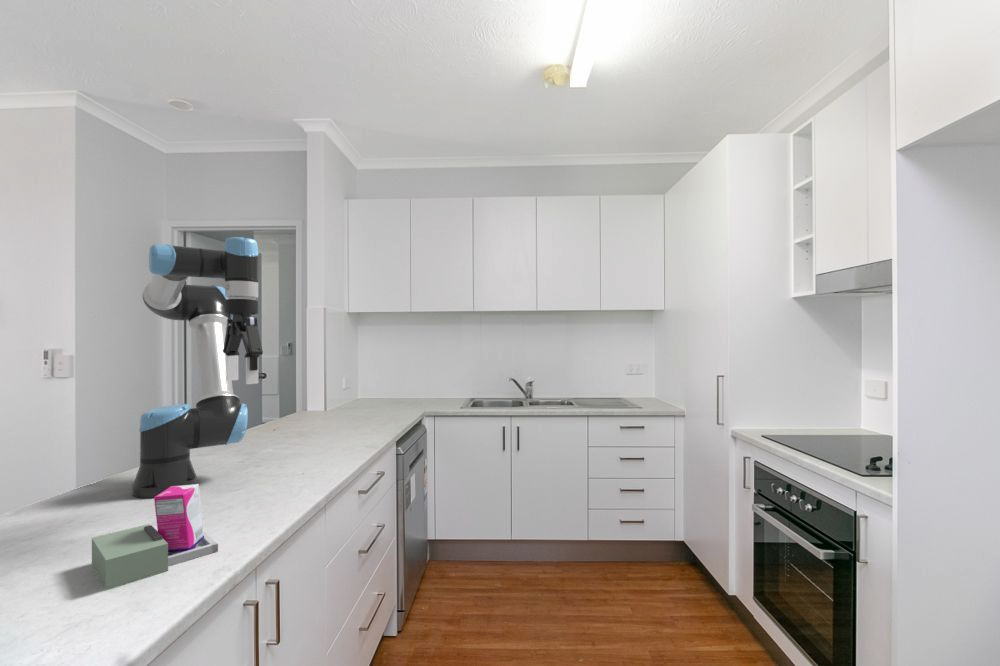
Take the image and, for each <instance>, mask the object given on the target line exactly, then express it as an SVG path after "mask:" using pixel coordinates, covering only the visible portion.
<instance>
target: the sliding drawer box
mask: <svg viewBox="0 0 1000 666" xmlns="http://www.w3.org/2000/svg"><path fill="white" fill-rule="evenodd" d="M216 552H219V544H218V542H216V540H214V539H213V538H211V537H210V535H208V534H207V533H205V532H204V538H203V539H202V540H201V541H200V542H199V543H198V544H197V545H196V546H194V547H193V548H192V549H191V550H188V551H181V552H169V553H168V543H167V542H166V541H165V540H164V539H163V538H162V535H161V534H160V533H159V532H158V529H156V528H155V527H154V526H153V525H151V524H150V523H147V524H144V525H140V526H135V527H131V528H125V529H123V530H119V531H115V532H111V533H106V534H102V535H98V536H95V537H91V565H92V567H93V569H94V571H95V573H96V574H97V576H98V578H99V580H100V581H101V583H102V585H103V587H104V589H105V590H110V589H113V588H116V587H119V586H122V585H125V584H130V583H133V582H135V581H136V582H137V581H139V580H142V579H145V578H149V577H151V576H155V575H158V574H163V573H164V572H165V573H166V572H168V571H169V567H170V566H174V565H177V564H180V563H183V562H188V561H190V560H194V559H197V558H201V557H203V556H206V555H210V554H214V553H216Z"/></svg>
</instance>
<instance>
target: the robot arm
mask: <svg viewBox="0 0 1000 666" xmlns="http://www.w3.org/2000/svg"><path fill="white" fill-rule="evenodd" d="M258 246H259V245H258V242H257V240H255V239H253V238H250V237H249V238H247V237H242V236H240V237H239V236H233V237H227V238H226V239H225V240H224V247H223V250H222V249H221V250H220V249H211V248H198V247H189V246H183V245H182V246H181V245H173V244H172V245H171V244H152V245H150V247H149V253H148V268H149V272H150V273H151V274H153V275H152V278H151V281H150V282H148V283H147V284H146V285H145V287H144V288H143V292H142V300H143V303H144V305H145V306H146V307H147V309H148V310H150V311H151V312H152V313H153V314H155V315H157V316H158V317H160V318H161V317H162V318H163V319H167V320H170V321H171V320H172V321H188V325H189V328H190V329H192V330H193V331H195V343H196V353H197V365H198V377H199V384H200V385H199V388H200V399H199V400H198V401H197V402H196V403H195V408H191V406H190V404H189V403H188V404H187V403H178V404H172V405H170V404H169V405H165V406H160V407H155V408H152V409H149V410H147V411H145V412H144V413H142V414H141V415H140V420H139V429H138V431H139V432H140V435H139V437H140V438H139V449H140V450H139V466H138V470H137V474H136V475H135V479H134V481H133V484H132V487H131V494H132V496H133V497H135V498H145V499H147V498H149V499H150V498H151V499H152V498H154V497H155V496H157V495H158V494H160V493H162V492H163V491H165V490H166V489H168V488H169V487H171V486H183V485H193V484H198V475H197V474H196V471H195V469H194V467H193V464H192V461H191V453H190V452H191V451H190V450H193V449H200V448H201V449H202V448H208V447H216V446H223V445H225V446H228V445H230V444H236V443H240V442H241V441H242V440H243V439H244V438H245V435H246V432H247V427H248V417H249V414H248V412H249V411H248V405H247V403H246V404H245V403H241V401H240V397H239V396H238V395H236V394H235V393H234V389H233V381H239V379H240V378H239V375H240V374H239V372H240V371H239V356H240V352H239V348H240V346H241V345H240V344H241V342H242V343H243V347H244V349H245V352H246V353H245V354H244V359H245V385H256V384H259V382H260V381H259V357H260V356H261V355H263V353H264V351H263V347H262V342H261V336H260V332H259V326H258V318H257V317H256V316H255V317H254V316H253V317H252V315H257V314H259V301H258V300H257V299H258V298H259V254H260V253H259V249H258V248H259V247H258ZM189 277H192V278H206V279H207V278H208V279H210V278H211V279H221V280H224V284H223V285H222V286H218V285H217V286H216V285H215V284H214V285H201V284H199V285H197V284H186V282H187V280H188V278H189Z"/></svg>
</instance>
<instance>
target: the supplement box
mask: <svg viewBox="0 0 1000 666" xmlns="http://www.w3.org/2000/svg"><path fill="white" fill-rule="evenodd" d="M199 485H200V484H199V483H197V484H193V485H183V486H171V487H169V488H168V489H166V490H165V491H163V492H162V493H160V494H158V495H157V496H155V497H153V499H154V509H155V518H156V519H155V520H156V526H157V529H156V530H157V531H158V532H159V533H160V534H161V535H162V538H163V539H164V540H165V541H166V542H167V543H168V553H169V552H181V551H188V550H191V549H192V548H193V547H194V546H196V545H197V544H198V543H199V542H200V541H201V540H202V539H203V538H204V533H205V532H204V524H203V522H204V521H203V514H202V513H203V512H202V504H201V502H202V501H201V492H200V486H199Z"/></svg>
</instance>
